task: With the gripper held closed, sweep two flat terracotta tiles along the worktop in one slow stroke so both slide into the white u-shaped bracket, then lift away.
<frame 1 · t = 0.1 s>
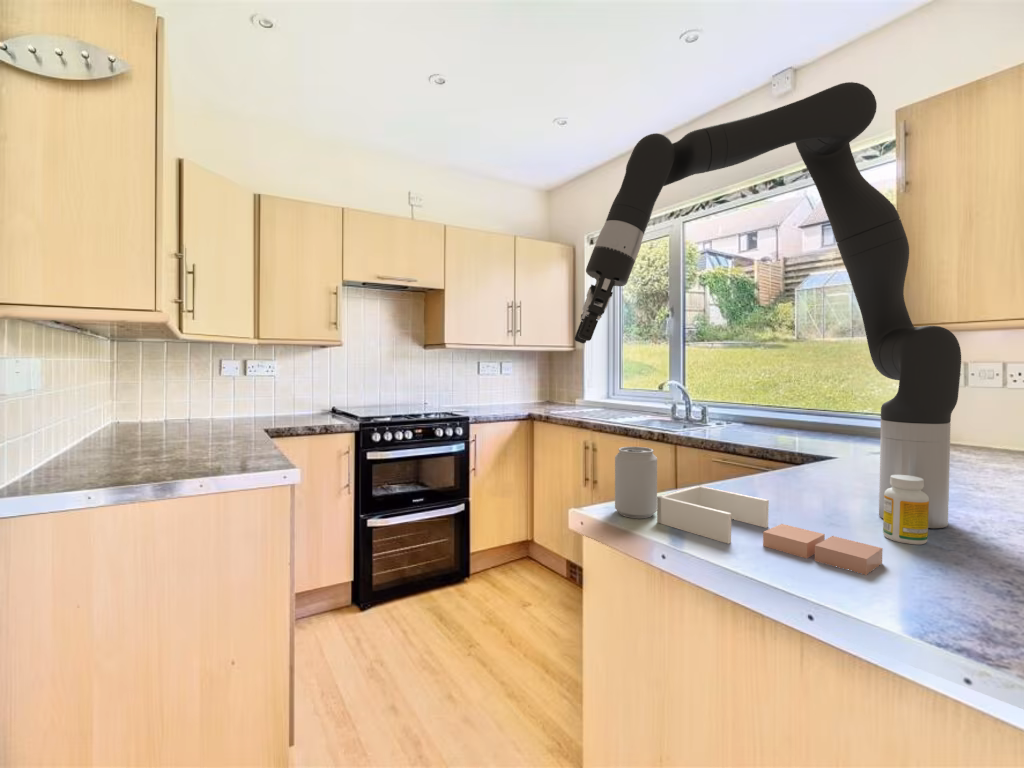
hand: (581, 340, 86), 31 cm above the counter, tool tilted 20°, fingers open, 8 cm apart
supplement bottle: (905, 540, 75), on the counter
tile b: (848, 564, 66), on the counter
can: (635, 514, 89), on the counter
tile a: (793, 549, 72), on the counter
white u-shaped bracket: (711, 524, 82), on the counter
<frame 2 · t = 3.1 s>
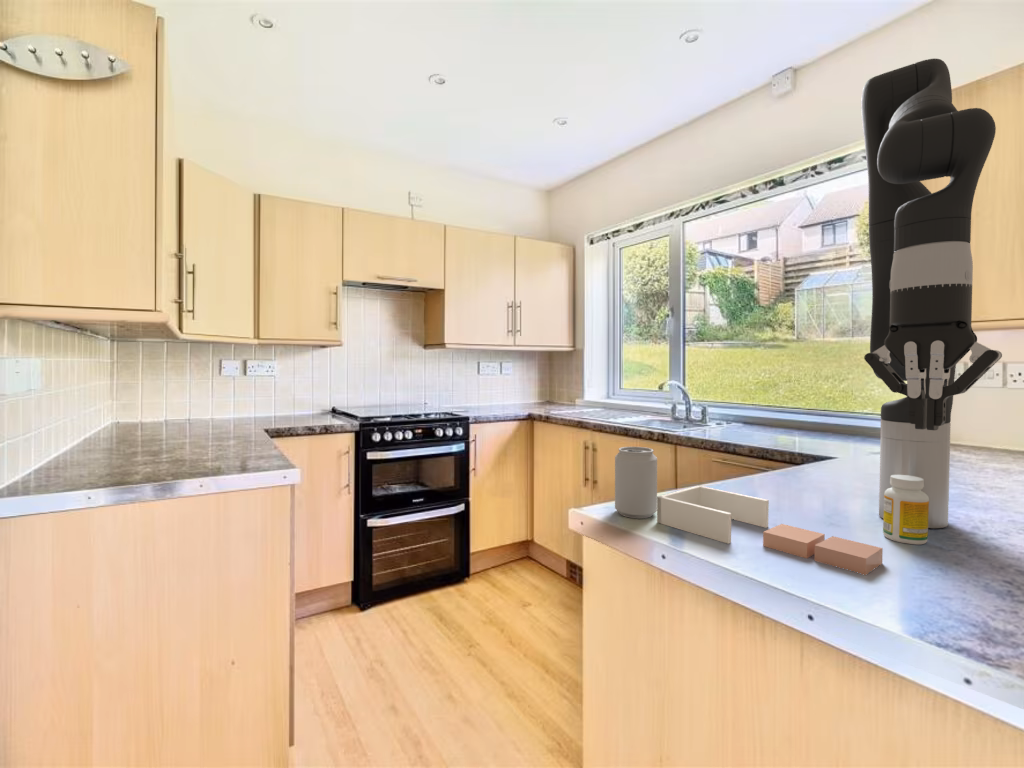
hand: (926, 428, 59), 19 cm above the counter, tool pointing down, fingers closed
nothing on the counter moved.
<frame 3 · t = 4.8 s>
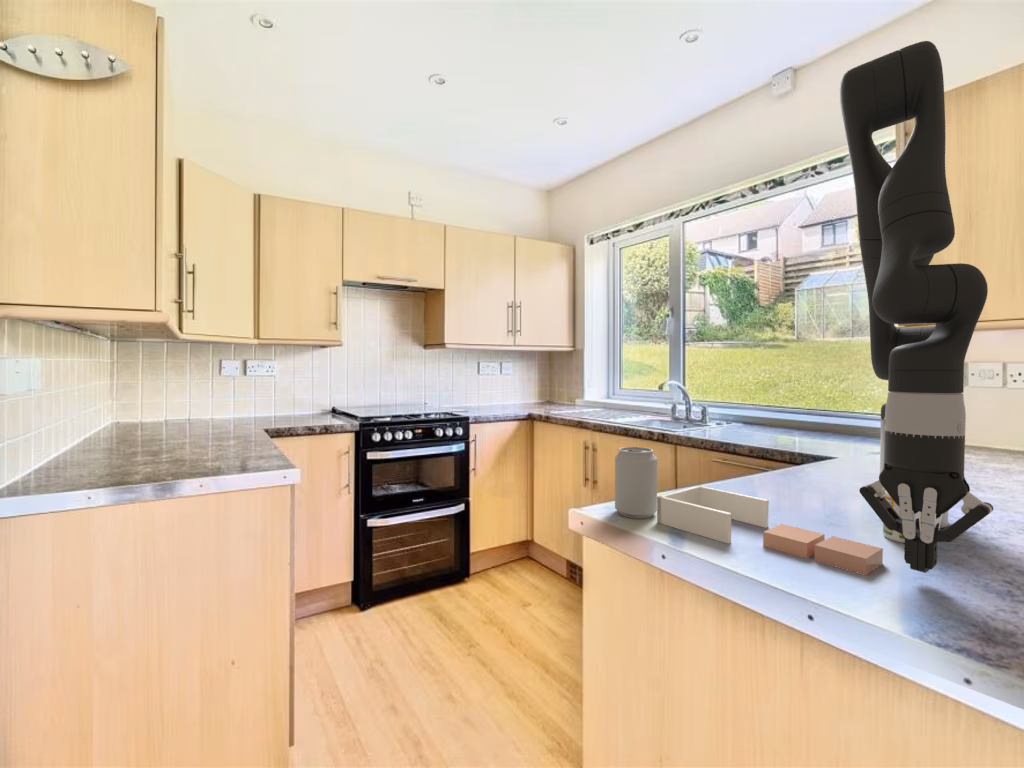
hand: (919, 569, 60), 2 cm above the counter, tool pointing down, fingers closed
nothing on the counter moved.
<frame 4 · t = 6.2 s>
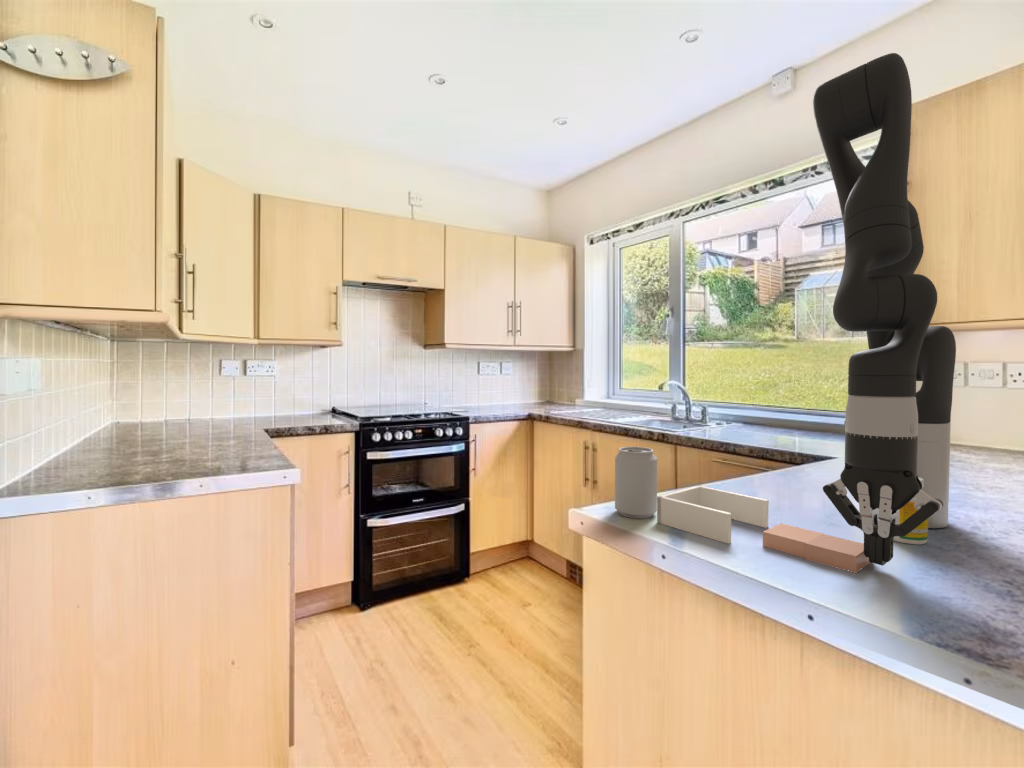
hand: (877, 562, 64), 1 cm above the counter, tool pointing down, fingers closed
tile b: (838, 562, 67), on the counter, touching gripper, tile a
tile a: (792, 549, 72), on the counter, touching tile b
everything else where it was.
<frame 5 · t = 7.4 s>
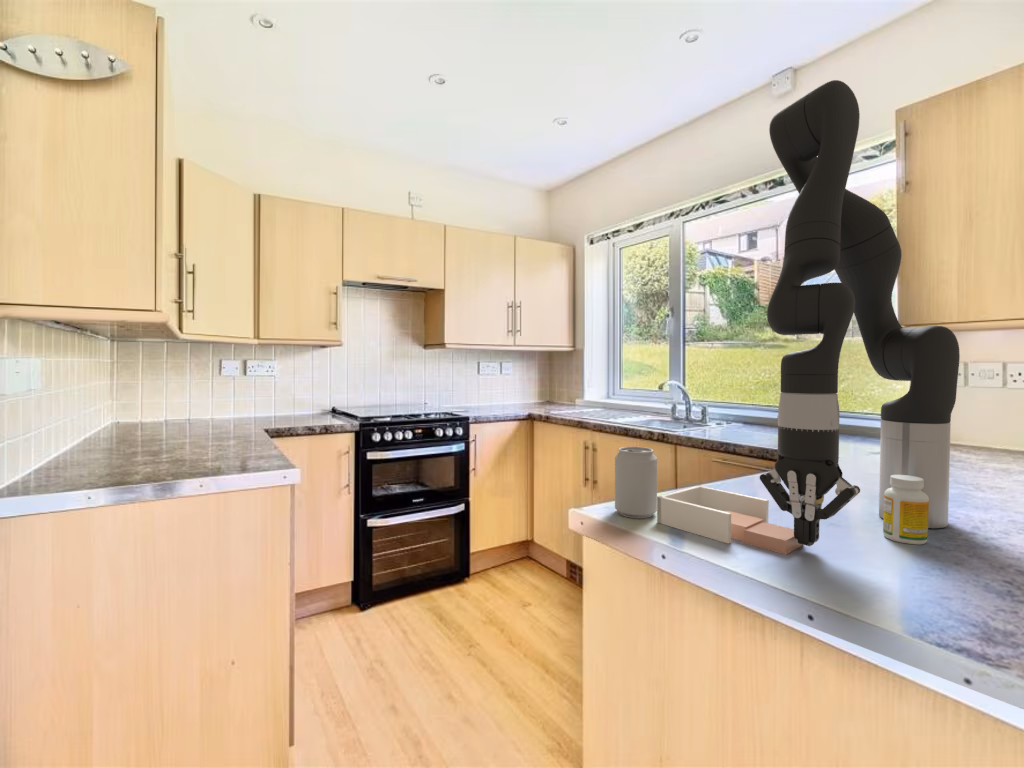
hand: (805, 543, 70), 1 cm above the counter, tool pointing down, fingers closed
tile b: (773, 547, 73), on the counter, touching gripper, tile a
tile a: (735, 533, 78), on the counter, touching tile b
everything else where it was.
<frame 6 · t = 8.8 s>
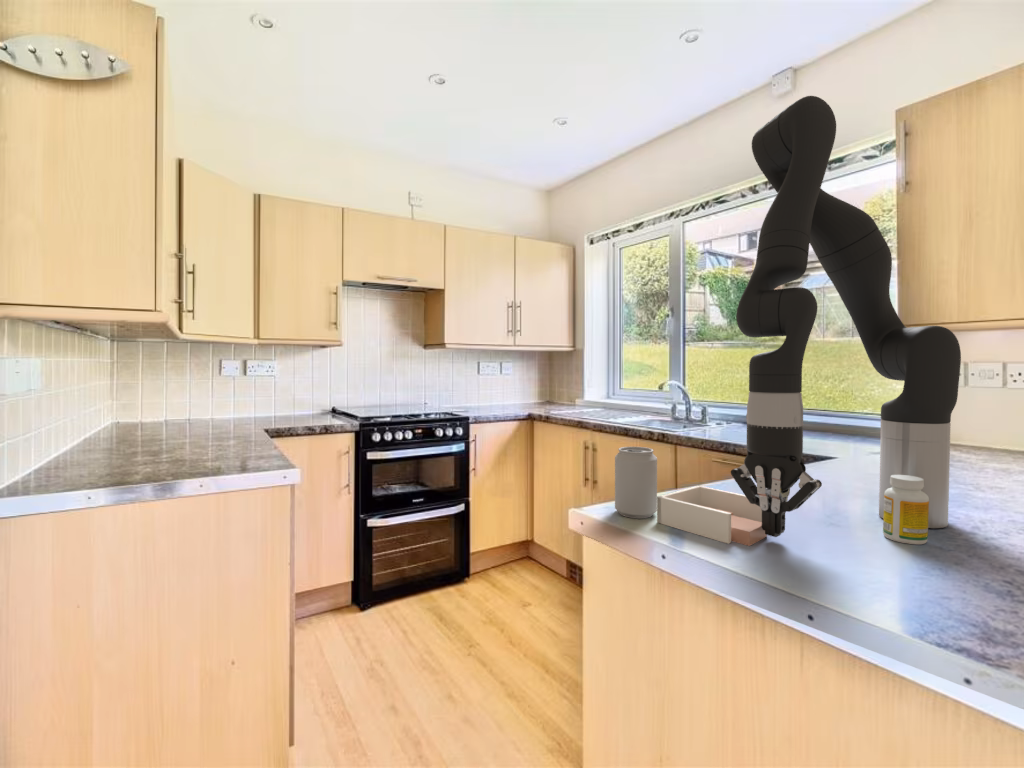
hand: (772, 534, 74), 1 cm above the counter, tool pointing down, fingers closed
tile b: (738, 538, 77), on the counter
tile a: (706, 526, 82), on the counter
everything else where it was.
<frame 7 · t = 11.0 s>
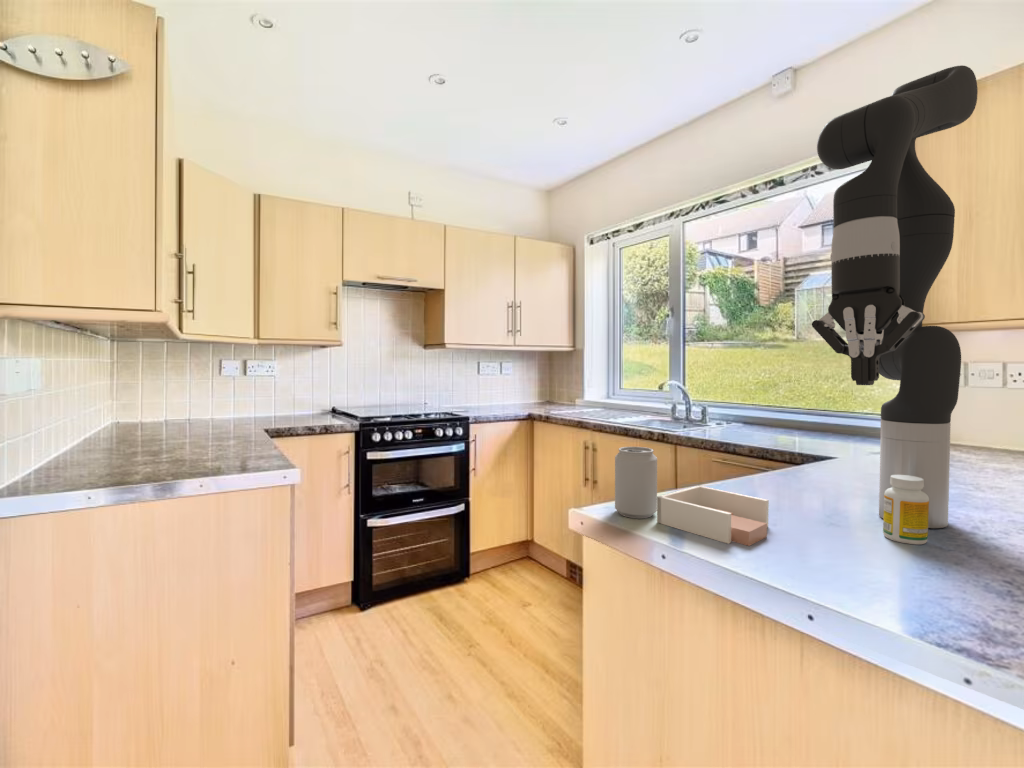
hand: (864, 384, 67), 24 cm above the counter, tool pointing down, fingers closed
nothing on the counter moved.
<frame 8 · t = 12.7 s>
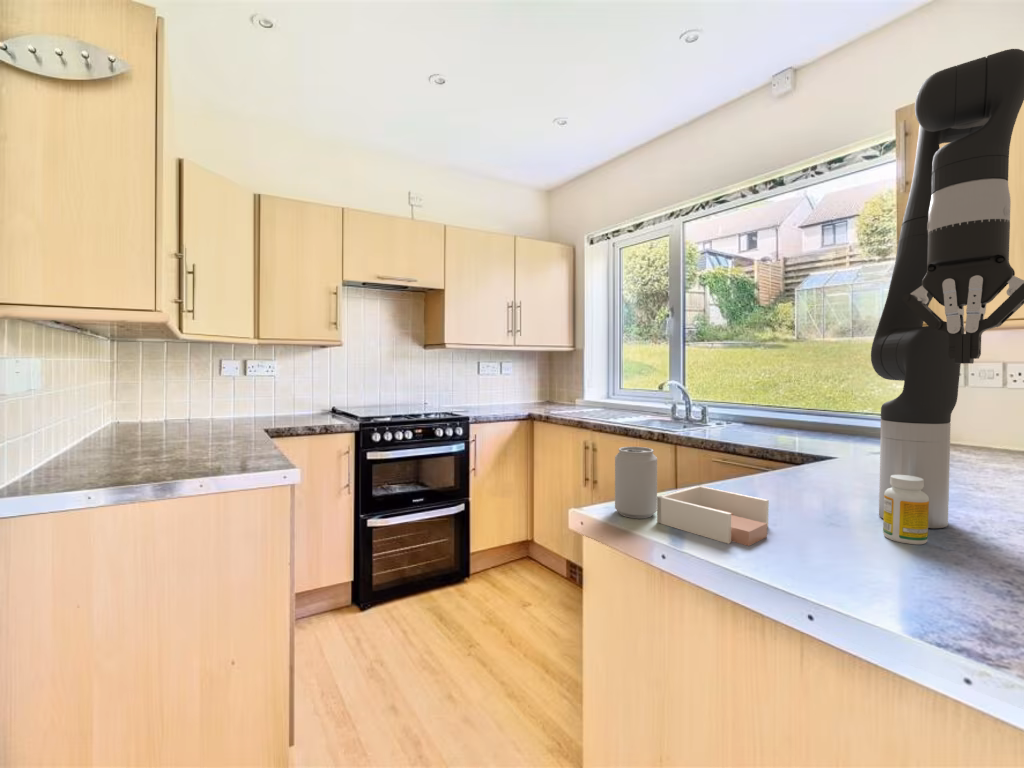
hand: (963, 363, 62), 27 cm above the counter, tool pointing down, fingers closed
nothing on the counter moved.
at the end: tile a inside the target area (1.0 cm from its centre), on the counter; tile b inside the target area (5.6 cm from its centre), on the counter; tile a moved 13.5 cm from its start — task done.
